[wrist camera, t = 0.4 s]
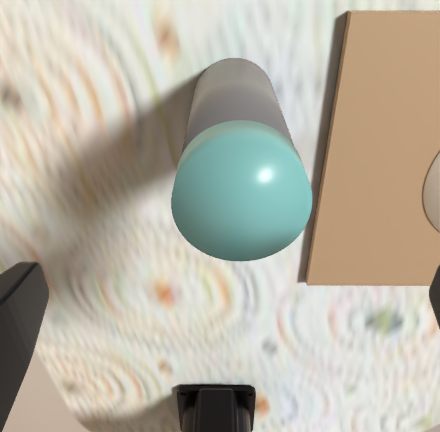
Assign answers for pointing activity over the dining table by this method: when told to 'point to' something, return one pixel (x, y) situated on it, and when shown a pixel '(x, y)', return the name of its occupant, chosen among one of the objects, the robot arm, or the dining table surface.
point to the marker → (239, 168)
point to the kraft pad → (382, 156)
